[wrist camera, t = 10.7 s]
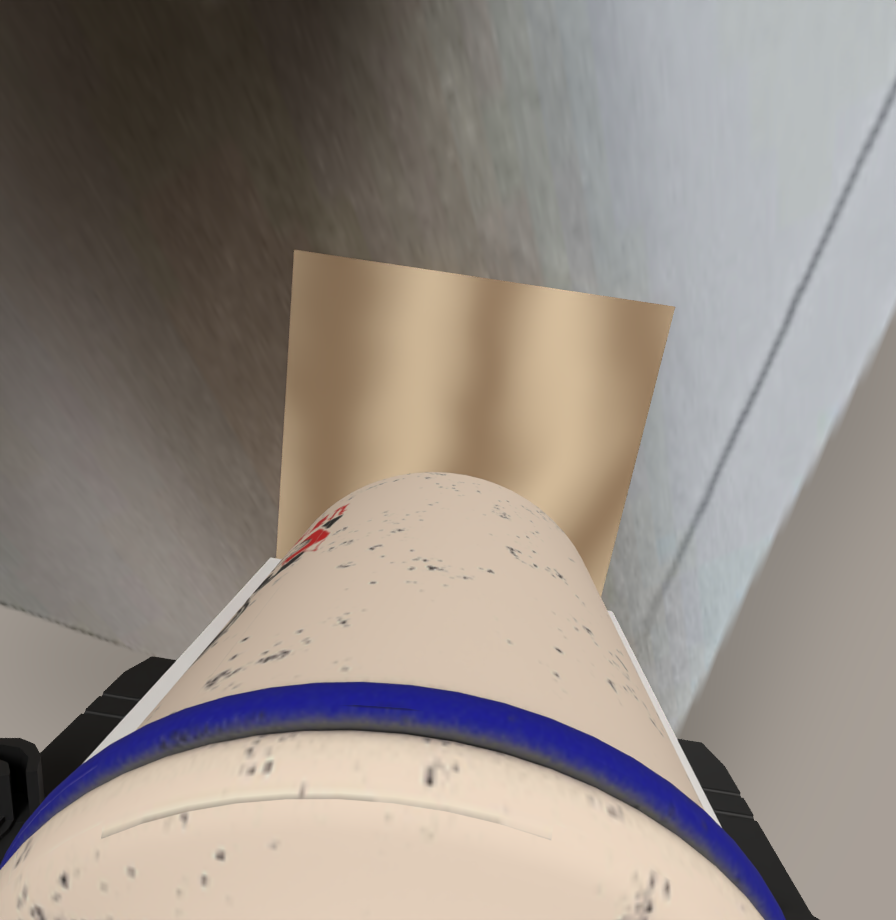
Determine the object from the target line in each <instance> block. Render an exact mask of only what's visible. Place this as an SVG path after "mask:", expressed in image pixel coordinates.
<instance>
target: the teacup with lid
mask: <svg viewBox="0 0 896 920" xmlns="http://www.w3.org/2000/svg"><path fill="white" fill-rule="evenodd" d="M0 920H786V919H785V917H784V915H783V912H782V910H781V908H780V907H779V905H778V903H777V901H776V900H775V898H774V896H773V895H772V893H771V891H770V890H769V888H768V886H767V885H766V883H765V881H764V880H763V878H762V876H761V875H760V873H759V872H758V870H757V869H756V868H755V866H754V865H753V864H752V863H751V861H750V860H749V859H748V858H747V856H746V855H745V854H744V852H743V851H742V850H741V849H740V847H739V846H738V845H737V844H736V842H735V841H734V840H733V839H732V838H731V837H730V836H729V835H728V834H727V833H726V832H725V831H724V830H723V829H722V828H721V827H720V826H719V825H718V824H717V823H716V822H715V821H714V820H713V819H712V818H711V816H710V815H709V814H708V813H707V812H706V811H705V810H704V808H703V806H702V804H701V802H700V800H699V798H698V796H697V793H696V791H695V789H694V787H693V785H692V783H691V781H690V779H689V777H688V775H687V773H686V771H685V769H684V767H683V765H682V763H681V761H680V759H679V757H678V755H677V753H676V750H675V748H674V746H673V744H672V742H671V740H670V738H669V736H668V734H667V732H666V730H665V728H664V726H663V724H662V722H661V720H660V718H659V716H658V714H657V712H656V710H655V707H654V705H653V703H652V701H651V699H650V697H649V695H648V693H647V691H646V689H645V687H644V685H643V683H642V681H641V679H640V677H639V675H638V673H637V671H636V669H635V666H634V664H633V662H632V660H631V658H630V656H629V654H628V652H627V650H626V648H625V646H624V644H623V642H622V640H621V638H620V636H619V634H618V632H617V630H616V628H615V626H614V623H613V621H612V619H611V617H610V615H609V613H608V611H607V609H606V607H605V605H604V603H603V601H602V599H601V597H600V595H599V593H598V591H597V589H596V587H595V585H594V582H593V580H592V578H591V576H590V574H589V572H588V570H587V568H586V566H585V564H584V562H583V560H582V558H581V556H580V555H579V553H578V551H577V550H576V548H575V546H574V545H573V543H572V542H571V541H570V539H569V538H568V537H567V535H566V534H565V533H564V532H563V530H562V529H561V528H560V527H559V526H558V525H557V524H556V523H555V522H554V521H553V520H552V519H551V518H550V517H549V516H548V515H547V514H546V513H544V512H543V511H542V510H541V509H540V508H538V507H537V506H536V505H534V504H533V503H531V502H530V501H529V500H527V499H525V498H524V497H522V496H520V495H518V494H517V493H515V492H513V491H511V490H509V489H507V488H505V487H502V486H500V485H498V484H495V483H492V482H489V481H486V480H483V479H480V478H476V477H471V476H467V475H461V474H454V473H443V472H423V473H411V474H404V475H398V476H394V477H390V478H386V479H383V480H380V481H377V482H374V483H371V484H369V485H366V486H364V487H362V488H360V489H358V490H356V491H354V492H352V493H351V494H349V495H347V496H346V497H344V498H342V499H341V500H339V501H338V502H336V503H335V504H334V505H332V506H331V507H330V508H328V509H327V510H326V511H325V512H324V513H323V514H322V515H321V516H320V517H319V518H317V519H316V521H315V522H314V523H313V524H312V525H311V526H310V527H309V529H308V530H307V531H306V532H305V533H304V534H303V536H302V537H301V538H300V539H299V540H298V541H297V543H296V544H295V545H294V546H293V547H292V548H291V550H290V551H289V552H288V553H287V554H286V555H285V557H284V558H283V559H282V560H281V561H280V562H279V564H278V565H277V566H276V567H275V568H274V569H273V571H272V572H271V573H270V574H269V575H268V576H267V578H266V579H265V580H264V581H263V582H262V583H261V585H260V586H259V587H258V588H257V589H256V590H255V592H254V593H253V594H252V595H251V596H250V597H249V599H248V600H247V601H246V602H245V603H244V604H243V606H242V607H241V608H240V609H239V610H238V611H237V613H236V614H235V615H234V616H233V617H232V618H231V620H230V621H229V622H228V623H227V624H226V625H225V627H224V628H223V629H222V630H221V631H220V632H219V634H218V635H217V636H216V637H215V638H214V639H213V641H212V642H211V643H210V644H209V645H208V646H207V648H206V649H205V650H204V651H203V652H202V653H201V655H200V656H199V657H198V658H197V659H196V660H195V662H194V663H193V664H192V665H191V666H190V667H189V669H188V670H187V671H186V672H185V673H184V674H183V676H182V677H181V678H180V679H179V680H178V681H177V683H176V684H175V685H174V686H173V687H172V688H171V690H170V691H169V692H168V693H167V694H166V695H165V697H164V698H163V699H162V700H161V701H160V702H159V704H158V705H157V706H156V707H155V708H154V709H153V711H152V712H151V713H150V714H149V715H148V716H147V718H146V719H145V720H144V721H143V722H142V723H141V725H140V726H139V727H138V728H137V729H136V730H135V731H134V732H132V733H130V734H128V735H126V736H125V737H123V738H121V739H119V740H117V741H115V742H114V743H112V744H110V745H109V746H107V747H106V748H104V749H103V750H102V751H100V752H99V753H97V754H96V755H94V756H93V757H92V758H90V759H89V760H87V761H86V762H84V763H83V764H82V765H80V766H79V767H78V768H77V769H76V770H75V771H74V772H73V773H71V774H70V775H69V776H68V777H67V778H66V779H65V780H64V781H63V782H61V783H60V784H59V785H58V786H57V787H56V788H55V789H54V790H53V791H52V792H51V793H50V794H49V795H48V796H47V797H46V798H45V799H44V801H43V802H42V803H41V804H40V805H39V806H38V808H37V809H36V810H35V811H34V812H33V814H32V815H31V816H30V817H29V818H28V819H27V821H26V822H25V823H24V825H23V826H22V828H21V829H20V831H19V832H18V834H17V836H16V837H15V839H14V840H13V842H12V843H11V845H10V847H9V848H8V850H7V851H6V854H5V856H4V858H3V860H2V863H1V865H0Z"/></svg>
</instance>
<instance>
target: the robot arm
mask: <svg viewBox="0 0 896 920" xmlns="http://www.w3.org/2000/svg"><path fill="white" fill-rule="evenodd" d="M281 560H282V559H276V558H270V559H269V560H268V561H267V562H266V563H265V564H264V565H263V566H262V567H261V568H260V570H259V571H258V572H257V573H256V574H255V575H254V576H253V577H252V578H251V579H250V581H249V582H248V583H247V584H246V585H245V586H244V587H243V588H242V589H241V590H240V591H239V593H238V594H237V595H236V596H235V597H234V598H233V599H232V600H231V601H230V602H229V604H228V605H227V606H226V607H225V608H224V609H223V610H222V611H221V612H220V613H219V614H218V616H217V617H216V618H215V619H214V620H213V621H212V622H211V623H210V624H209V625H208V627H207V628H206V629H205V630H204V631H203V632H202V633H201V634H200V635H199V636H198V638H197V639H196V640H195V641H194V642H193V643H192V644H191V645H190V646H189V647H188V648H187V650H186V651H185V652H184V653H183V654H182V655H181V656H180V657H179V658H178V659H177V660H171V659H165V658H159V657H150V658H148V659H147V660H145V661H143V662H141V663H139V664H138V665H136V666H134V667H132V668H130V669H129V670H127V671H125V672H124V673H123V674H122V675H121V676H120V677H119V678H118V679H117V680H116V681H114V682H113V683H112V684H111V685H110V686H109V687H108V688H107V689H106V690H105V691H104V692H103V695H102V696H99V697H98V698H97V699H96V700H95V701H94V702H93V703H92V704H91V705H90V706H89V707H88V708H86V711H85V713H84V714H81V715H79V716H78V717H77V718H76V719H75V720H74V721H73V722H72V723H71V724H70V725H69V726H68V727H67V728H66V729H65V730H64V731H63V732H62V733H61V734H60V735H59V736H57V737H56V738H55V739H54V740H53V741H52V742H51V743H50V744H49V745H48V746H47V747H46V748H45V749H44V750H43V751H42V752H41V753H39V751H38V749H37V747H36V746H35V744H33V743H31V742H28V741H26V740H23V739H21V738H0V865H1V863H2V860H3V858H4V856H5V854H6V851H7V850H8V848H9V847H10V845H11V843H12V842H13V840H14V839H15V837H16V836H17V834H18V832H19V831H20V829H21V828H22V826H23V825H24V823H25V822H26V821H27V819H28V818H29V817H30V816H31V815H32V814H33V812H34V811H35V810H36V809H37V808H38V806H39V805H40V804H41V803H42V802H43V801H44V799H45V798H46V797H47V796H48V795H49V794H50V793H51V792H52V791H53V790H54V789H55V788H56V787H57V786H58V785H59V784H60V783H61V782H63V781H64V780H65V779H66V778H67V777H68V776H69V775H70V774H71V773H73V772H74V771H75V770H76V769H77V768H78V767H79V766H80V765H82V764H83V763H84V762H86V761H87V760H89V759H90V758H92V757H93V756H94V755H96V754H97V753H99V752H100V751H102V750H103V749H104V748H106V747H107V746H109V745H110V744H112V743H114V742H115V741H117V740H119V739H121V738H123V737H125V736H126V735H128V734H130V733H132V732H134V731H135V730H136V729H137V728H138V727H139V726H140V725H141V723H142V722H143V721H144V720H145V719H146V718H147V716H148V715H149V714H150V713H151V712H152V711H153V709H154V708H155V707H156V706H157V705H158V704H159V702H160V701H161V700H162V699H163V698H164V697H165V695H166V694H167V693H168V692H169V691H170V690H171V688H172V687H173V686H174V685H175V684H176V683H177V681H178V680H179V679H180V678H181V677H182V676H183V674H184V673H185V672H186V671H187V670H188V669H189V667H190V666H191V665H192V664H193V663H194V662H195V660H196V659H197V658H198V657H199V656H200V655H201V653H202V652H203V651H204V650H205V649H206V648H207V646H208V645H209V644H210V643H211V642H212V641H213V639H214V638H215V637H216V636H217V635H218V634H219V632H220V631H221V630H222V629H223V628H224V627H225V625H226V624H227V623H228V622H229V621H230V620H231V618H232V617H233V616H234V615H235V614H236V613H237V611H238V610H239V609H240V608H241V607H242V606H243V604H244V603H245V602H246V601H247V600H248V599H249V597H250V596H251V595H252V594H253V593H254V592H255V590H256V589H257V588H258V587H259V586H260V585H261V583H262V582H263V581H264V580H265V579H266V578H267V576H268V575H269V574H270V573H271V572H272V571H273V569H274V568H275V567H276V566H277V565H278V564H279V562H280V561H281ZM608 613H609V615H610V617H611V619H612V621H613V623H614V626H615V628H616V630H617V632H618V634H619V636H620V638H621V640H622V642H623V644H624V646H625V648H626V650H627V652H628V654H629V656H630V658H631V660H632V662H633V664H634V666H635V669H636V671H637V673H638V675H639V677H640V679H641V681H642V683H643V685H644V687H645V689H646V691H647V693H648V695H649V697H650V699H651V701H652V703H653V705H654V707H655V710H656V712H657V714H658V716H659V718H660V720H661V722H662V724H663V726H664V728H665V730H666V732H667V734H668V736H669V738H670V740H671V742H672V744H673V746H674V748H675V750H676V753H677V755H678V757H679V759H680V761H681V763H682V765H683V767H684V769H685V771H686V773H687V775H688V777H689V779H690V781H691V783H692V785H693V787H694V789H695V791H696V793H697V796H698V798H699V800H700V802H701V804H702V806H703V808H704V810H705V811H706V812H707V813H708V814H709V815H710V816H711V818H712V819H713V820H714V821H715V822H716V823H717V824H718V825H719V826H720V827H721V828H722V829H723V830H724V831H725V832H726V833H727V834H728V835H729V836H730V837H731V838H732V839H733V840H734V841H735V842H736V844H737V845H738V846H739V847H740V849H741V850H742V851H743V852H744V854H745V855H746V856H747V858H748V859H749V860H750V861H751V863H752V864H753V865H754V866H755V868H756V869H757V870H758V872H759V873H760V875H761V876H762V878H763V880H764V881H765V883H766V885H767V886H768V888H769V890H770V891H771V893H772V895H773V896H774V898H775V900H776V901H777V903H778V905H779V907H780V908H781V910H782V912H783V915H784V917H785V919H786V920H819V919H818V918H816V917H814V916H813V915H812V914H811V912H810V911H809V909H808V907H807V906H806V904H805V903H804V901H803V899H802V897H801V895H800V894H799V892H798V890H797V889H796V887H795V885H794V884H793V882H792V881H791V879H790V877H789V875H788V873H787V872H786V870H785V868H784V866H783V865H782V863H781V861H780V860H779V858H778V856H777V854H776V853H775V851H774V849H773V848H772V846H771V844H770V843H769V841H768V839H767V837H766V836H765V834H764V832H763V831H762V829H761V828H760V826H759V824H758V822H757V821H754V819H753V814H752V812H751V810H750V808H749V807H748V805H747V803H746V802H745V800H744V798H741V796H740V791H739V790H738V788H737V786H736V785H735V783H734V781H733V780H732V778H731V776H730V774H729V773H728V771H727V769H726V768H725V766H724V765H723V764H722V763H721V762H720V761H719V760H718V759H717V758H716V757H715V756H714V755H713V754H712V753H711V752H710V751H709V750H708V749H707V748H706V747H705V745H704V744H702V743H700V742H694V741H688V740H682V739H677V738H676V736H675V734H674V732H673V730H672V728H671V726H670V724H669V722H668V720H667V718H666V716H665V714H664V712H663V711H662V709H661V707H660V705H659V703H658V701H657V699H656V697H655V695H654V693H653V691H652V689H651V687H650V685H649V683H648V681H647V679H646V677H645V675H644V673H643V671H642V669H641V667H640V665H639V663H638V661H637V659H636V657H635V655H634V653H633V651H632V649H631V647H630V645H629V643H628V641H627V639H626V637H625V636H624V634H623V632H622V630H621V628H620V626H619V624H618V622H617V620H616V618H615V616H614V614H613V612H612V611H608Z"/></svg>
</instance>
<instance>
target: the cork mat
mask: <svg viewBox="0 0 896 920" xmlns="http://www.w3.org/2000/svg"><path fill="white" fill-rule="evenodd" d="M674 309H675V307H673V306H667V305H660V304H653V303H647V302H640V301H633V300H627V299H620V298H613V297H607V296H600V295H593V294H587V293H580V292H573V291H567V290H560V289H553V288H547V287H540V286H533V285H527V284H520V283H513V282H507V281H500V280H493V279H487V278H480V277H473V276H467V275H460V274H453V273H447V272H440V271H433V270H427V269H420V268H413V267H407V266H400V265H393V264H387V263H380V262H373V261H367V260H360V259H353V258H347V257H340V256H333V255H327V254H320V253H313V252H307V251H300V250H294V261H293V278H292V295H291V312H290V330H289V347H288V364H287V381H286V398H285V416H284V433H283V450H282V467H281V484H280V502H279V519H278V536H277V553H276V559H283V558H284V557H285V555H286V554H287V553H288V552H289V551H290V550H291V548H292V547H293V546H294V545H295V544H296V543H297V541H298V540H299V539H300V538H301V537H302V536H303V534H304V533H305V532H306V531H307V530H308V529H309V527H310V526H311V525H312V524H313V523H314V522H315V521H316V519H317V518H319V517H320V516H321V515H322V514H323V513H324V512H325V511H326V510H327V509H328V508H330V507H331V506H332V505H334V504H335V503H336V502H338V501H339V500H341V499H342V498H344V497H346V496H347V495H349V494H351V493H352V492H354V491H356V490H358V489H360V488H362V487H364V486H366V485H369V484H371V483H374V482H377V481H380V480H383V479H386V478H390V477H394V476H398V475H404V474H411V473H423V472H443V473H454V474H461V475H467V476H471V477H476V478H480V479H483V480H486V481H489V482H492V483H495V484H498V485H500V486H502V487H505V488H507V489H509V490H511V491H513V492H515V493H517V494H518V495H520V496H522V497H524V498H525V499H527V500H529V501H530V502H531V503H533V504H534V505H536V506H537V507H538V508H540V509H541V510H542V511H543V512H544V513H546V514H547V515H548V516H549V517H550V518H551V519H552V520H553V521H554V522H555V523H556V524H557V525H558V526H559V527H560V528H561V529H562V530H563V532H564V533H565V534H566V535H567V537H568V538H569V539H570V541H571V542H572V543H573V545H574V546H575V548H576V550H577V551H578V553H579V555H580V556H581V558H582V560H583V562H584V564H585V566H586V568H587V570H588V572H589V574H590V576H591V578H592V580H593V582H594V585H595V587H596V589H597V591H598V593H599V595H600V597H601V594H602V590H603V586H604V582H605V579H606V575H607V571H608V567H609V563H610V559H611V555H612V551H613V547H614V543H615V540H616V536H617V532H618V528H619V524H620V520H621V516H622V512H623V508H624V504H625V501H626V497H627V493H628V489H629V485H630V481H631V477H632V473H633V469H634V465H635V462H636V458H637V454H638V450H639V446H640V442H641V438H642V434H643V430H644V426H645V423H646V419H647V415H648V411H649V407H650V403H651V399H652V395H653V391H654V387H655V384H656V380H657V376H658V372H659V368H660V364H661V360H662V356H663V352H664V348H665V345H666V341H667V337H668V333H669V329H670V325H671V321H672V317H673V313H674Z"/></svg>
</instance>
